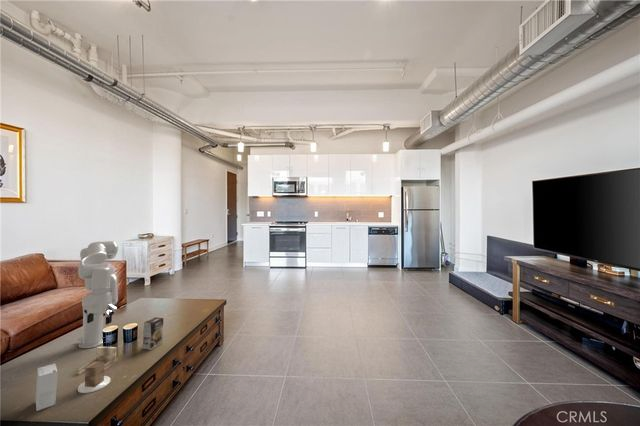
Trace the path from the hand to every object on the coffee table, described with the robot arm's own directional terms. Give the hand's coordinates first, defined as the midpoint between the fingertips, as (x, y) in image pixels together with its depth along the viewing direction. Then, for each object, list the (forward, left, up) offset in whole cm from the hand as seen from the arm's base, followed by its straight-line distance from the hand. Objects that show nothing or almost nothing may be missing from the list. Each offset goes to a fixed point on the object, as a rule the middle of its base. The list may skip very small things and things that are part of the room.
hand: (99, 322), depth 140 cm
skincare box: (-2, -25, -25) cm, 35 cm away
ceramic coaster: (+8, -12, -25) cm, 29 cm away
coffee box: (+12, +26, -25) cm, 38 cm away
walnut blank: (+8, -11, -24) cm, 28 cm away
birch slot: (-2, +1, -25) cm, 25 cm away
